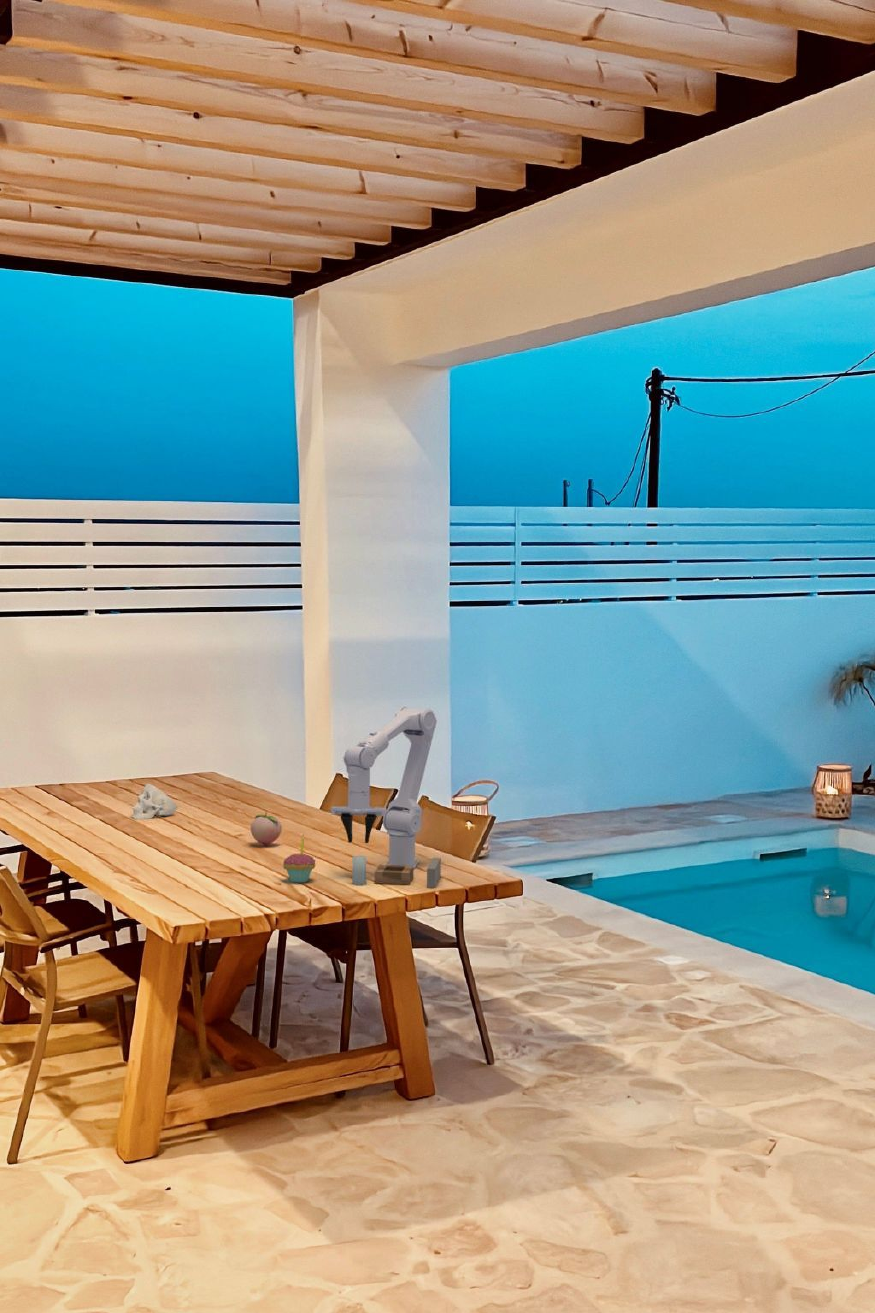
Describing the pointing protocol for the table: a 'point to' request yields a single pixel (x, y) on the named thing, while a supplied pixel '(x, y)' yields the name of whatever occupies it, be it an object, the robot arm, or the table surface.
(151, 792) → the skull bowl
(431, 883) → the wall
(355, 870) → the dowel
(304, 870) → the cupcake
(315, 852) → the table surface
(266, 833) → the decorative fruit
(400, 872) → the brown square frame
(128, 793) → the table surface
